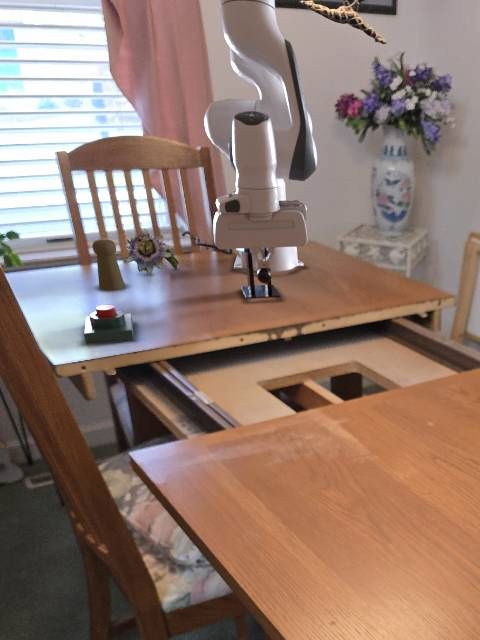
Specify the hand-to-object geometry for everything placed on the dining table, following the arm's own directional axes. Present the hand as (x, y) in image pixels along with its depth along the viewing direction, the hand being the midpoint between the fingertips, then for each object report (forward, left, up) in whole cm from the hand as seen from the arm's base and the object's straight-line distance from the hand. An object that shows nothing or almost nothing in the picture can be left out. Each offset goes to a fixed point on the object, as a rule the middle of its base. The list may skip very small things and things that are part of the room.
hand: (263, 268), depth 159 cm
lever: (-5, 0, -1) cm, 5 cm away
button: (+11, -34, -5) cm, 36 cm away
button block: (+11, -34, -9) cm, 37 cm away
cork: (-23, -34, -9) cm, 42 cm away
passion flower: (-37, -24, -9) cm, 45 cm away
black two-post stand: (-9, 0, -9) cm, 13 cm away
